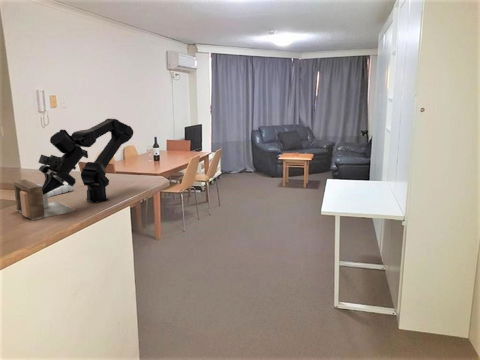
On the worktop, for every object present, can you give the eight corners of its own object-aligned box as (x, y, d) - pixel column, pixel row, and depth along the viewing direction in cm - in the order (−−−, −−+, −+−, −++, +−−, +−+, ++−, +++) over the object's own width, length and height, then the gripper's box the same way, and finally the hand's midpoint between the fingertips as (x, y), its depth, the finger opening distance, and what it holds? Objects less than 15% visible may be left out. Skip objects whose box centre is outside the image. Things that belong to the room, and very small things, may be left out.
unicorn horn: (16, 202, 154) (15, 190, 153) (68, 190, 174) (67, 179, 173) (23, 204, 152) (22, 192, 150) (75, 191, 172) (74, 181, 171)
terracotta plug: (40, 211, 140) (37, 188, 138) (44, 213, 137) (42, 190, 135) (22, 214, 135) (19, 191, 134) (26, 217, 133) (23, 193, 131)
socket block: (58, 202, 153) (55, 175, 151) (75, 210, 143) (72, 181, 141) (16, 210, 142) (13, 181, 140) (32, 220, 133) (29, 188, 130)
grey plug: (44, 205, 147) (42, 183, 145) (48, 207, 145) (46, 185, 143) (27, 208, 143) (25, 186, 141) (31, 210, 140) (29, 188, 138)
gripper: (41, 143, 143) (12, 176, 138) (63, 148, 131) (33, 185, 126) (64, 161, 151) (38, 194, 145) (87, 168, 139) (59, 204, 133)
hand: (41, 194), depth 137 cm, fingers closed, pressing on terracotta plug
